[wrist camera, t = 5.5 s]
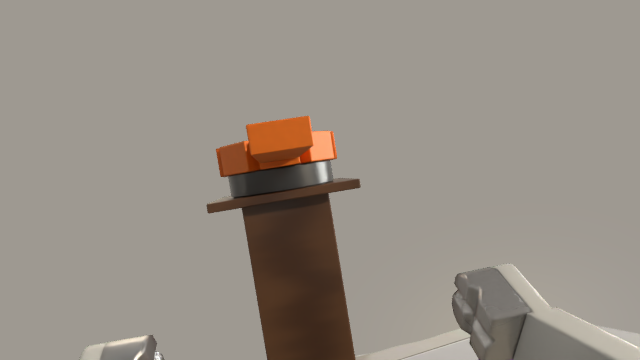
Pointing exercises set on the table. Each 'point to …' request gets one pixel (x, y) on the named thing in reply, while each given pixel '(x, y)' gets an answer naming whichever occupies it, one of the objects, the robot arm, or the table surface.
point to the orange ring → (276, 147)
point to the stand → (295, 258)
